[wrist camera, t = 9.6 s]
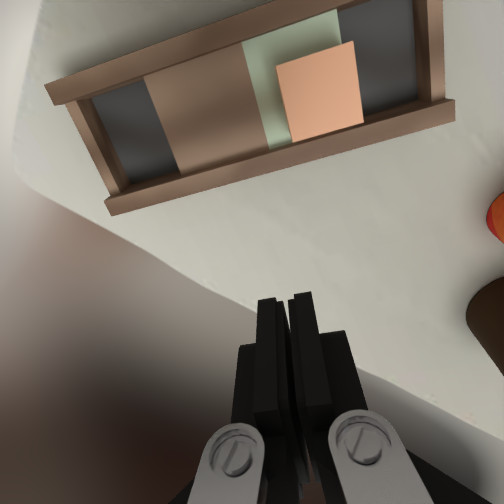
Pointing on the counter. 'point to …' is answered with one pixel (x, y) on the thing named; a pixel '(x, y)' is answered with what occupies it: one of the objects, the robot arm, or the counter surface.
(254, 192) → the counter surface
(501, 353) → the olive oil
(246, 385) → the robot arm
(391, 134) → the box
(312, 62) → the block
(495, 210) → the paper cup
